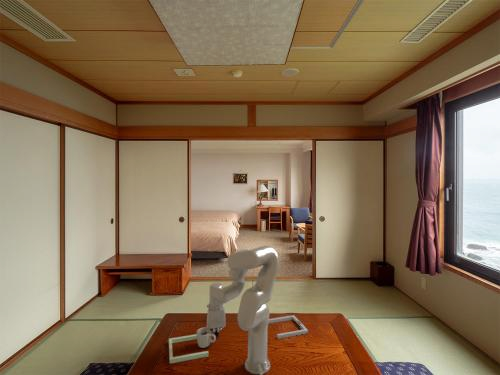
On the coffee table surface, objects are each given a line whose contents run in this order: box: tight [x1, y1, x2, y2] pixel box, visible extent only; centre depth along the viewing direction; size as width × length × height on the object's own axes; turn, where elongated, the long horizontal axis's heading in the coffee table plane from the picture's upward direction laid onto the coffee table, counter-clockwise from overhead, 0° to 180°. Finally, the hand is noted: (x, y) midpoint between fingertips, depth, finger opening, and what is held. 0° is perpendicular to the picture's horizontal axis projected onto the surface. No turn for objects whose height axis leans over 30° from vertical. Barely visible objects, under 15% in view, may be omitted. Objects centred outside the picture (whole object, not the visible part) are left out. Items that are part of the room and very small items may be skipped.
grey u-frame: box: [268, 315, 309, 340], centre depth 173 cm, size 19×20×3 cm
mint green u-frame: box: [168, 333, 209, 364], centre depth 151 cm, size 19×20×3 cm
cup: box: [195, 326, 217, 349], centre depth 154 cm, size 11×8×8 cm
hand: (215, 337), depth 157 cm, fingers closed
